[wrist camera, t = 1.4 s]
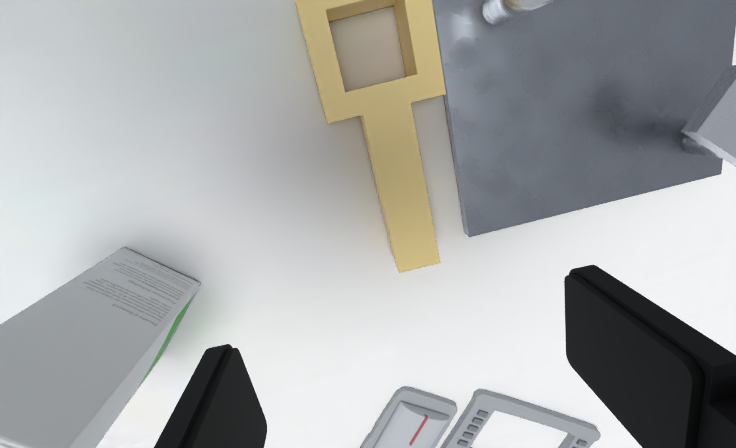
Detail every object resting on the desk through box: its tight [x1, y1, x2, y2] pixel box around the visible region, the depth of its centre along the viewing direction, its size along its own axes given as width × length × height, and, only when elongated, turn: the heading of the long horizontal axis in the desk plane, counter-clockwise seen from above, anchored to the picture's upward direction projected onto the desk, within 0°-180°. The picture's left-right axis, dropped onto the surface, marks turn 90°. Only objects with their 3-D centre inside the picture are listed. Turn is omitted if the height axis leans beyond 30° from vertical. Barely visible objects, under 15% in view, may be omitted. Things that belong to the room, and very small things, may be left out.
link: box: [295, 0, 446, 273], centre depth 24 cm, size 18×7×4 cm, turn 13°
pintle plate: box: [432, 0, 736, 237], centre depth 22 cm, size 20×20×7 cm
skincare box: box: [0, 247, 200, 448], centre depth 21 cm, size 8×7×16 cm
